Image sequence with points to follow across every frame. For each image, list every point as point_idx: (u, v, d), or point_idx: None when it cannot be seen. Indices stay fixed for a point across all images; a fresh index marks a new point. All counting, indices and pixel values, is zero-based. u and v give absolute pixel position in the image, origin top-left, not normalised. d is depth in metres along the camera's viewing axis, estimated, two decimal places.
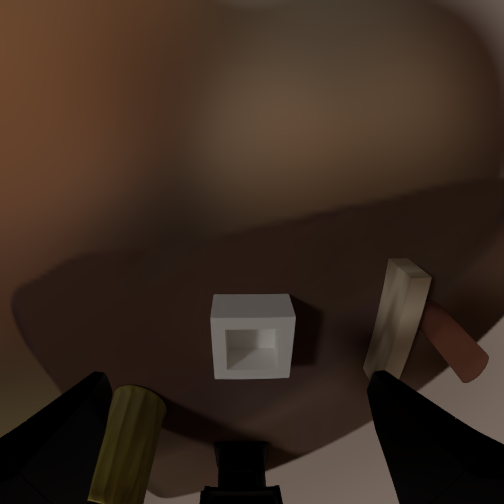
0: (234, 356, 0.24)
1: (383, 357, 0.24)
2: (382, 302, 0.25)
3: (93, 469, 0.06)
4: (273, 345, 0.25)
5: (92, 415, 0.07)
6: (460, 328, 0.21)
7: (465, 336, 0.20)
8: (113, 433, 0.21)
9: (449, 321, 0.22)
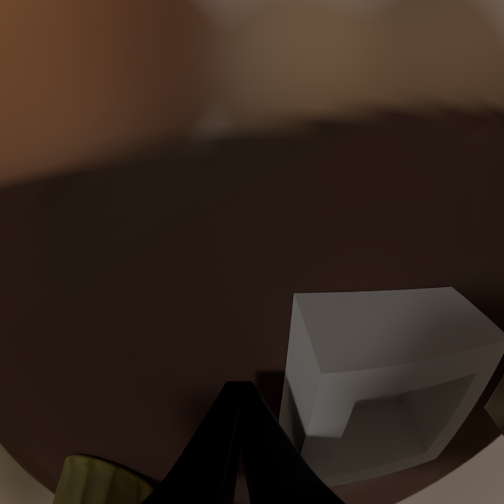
0: None
1: None
2: None
3: None
4: (402, 397, 0.10)
5: (239, 429, 0.07)
6: None
7: None
8: None
9: None
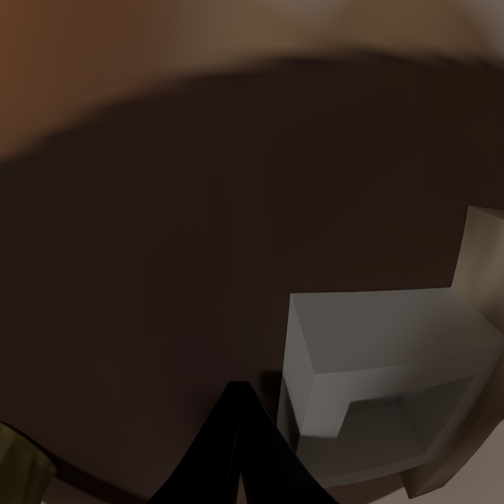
0: None
1: None
2: None
3: None
4: (400, 398, 0.10)
5: None
6: None
7: None
8: None
9: None
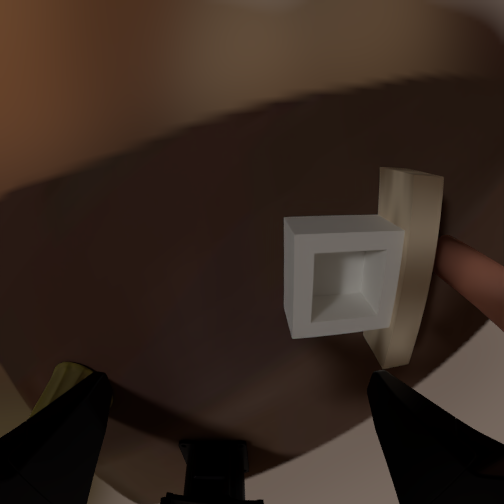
0: (314, 305, 0.18)
1: None
2: None
3: (93, 469, 0.06)
4: (360, 289, 0.19)
5: (92, 415, 0.07)
6: (494, 261, 0.14)
7: (503, 269, 0.12)
8: None
9: (476, 253, 0.15)
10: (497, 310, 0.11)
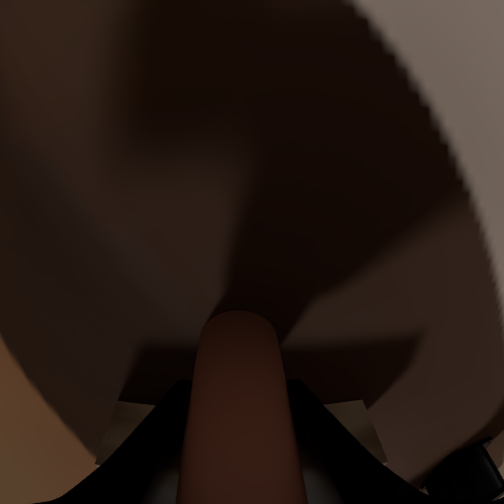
0: None
1: None
2: None
3: None
4: None
5: None
6: (182, 448, 0.06)
7: None
8: None
9: None
10: None
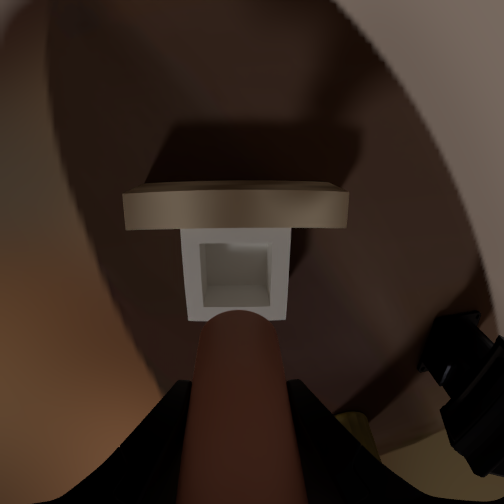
0: (267, 284, 0.19)
1: None
2: None
3: None
4: None
5: None
6: (182, 448, 0.06)
7: None
8: None
9: None
10: None
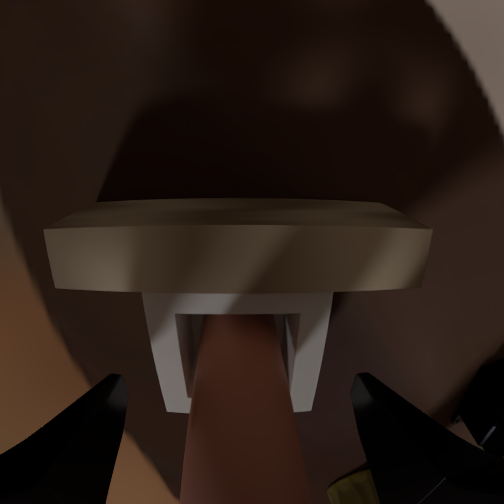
0: (285, 359, 0.12)
1: None
2: None
3: (111, 473, 0.06)
4: None
5: (110, 418, 0.07)
6: (191, 404, 0.08)
7: None
8: None
9: None
10: None
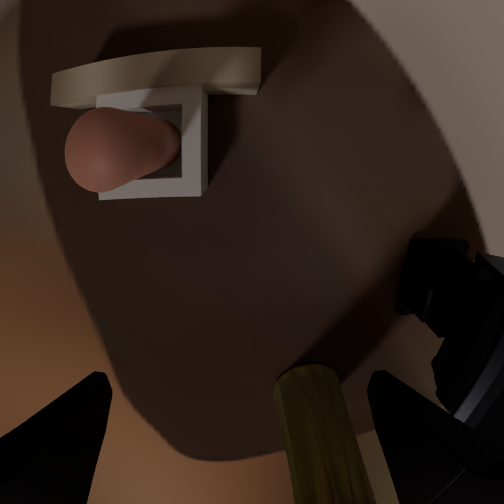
0: None
1: None
2: None
3: (93, 469, 0.06)
4: None
5: (92, 415, 0.07)
6: None
7: None
8: None
9: None
10: None
